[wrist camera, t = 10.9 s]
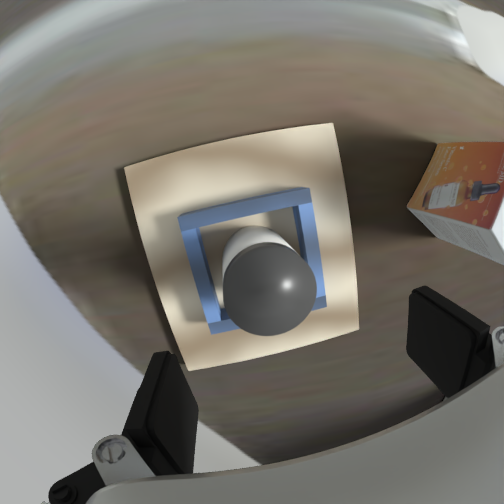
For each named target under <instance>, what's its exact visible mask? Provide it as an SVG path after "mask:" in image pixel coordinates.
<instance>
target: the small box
mask: <svg viewBox="0 0 504 504" xmlns="http://www.w3.org/2000/svg"><path fill="white" fill-rule="evenodd" d="M407 208H408V209H409V210H410V211H411V212H412V213H413V214H414V215H415V216H416V217H417V218H418V219H419V220H420V221H421V222H422V223H423V224H424V225H425V226H426V227H427V228H428V229H429V230H430V231H431V232H432V233H433V234H434V235H435V236H436V237H437V238H439V239H442V240H444V241H447V242H449V243H452V244H454V245H457V246H460V247H462V248H464V249H467V250H469V251H472V252H474V253H477V254H479V255H481V256H484V257H486V258H488V259H491V260H493V261H495V262H498V263H500V264H502V265H504V142H448V143H438V145H437V147H436V149H435V152H434V154H433V157H432V159H431V161H430V163H429V165H428V167H427V169H426V171H425V173H424V175H423V177H422V179H421V181H420V183H419V185H418V187H417V188H416V190H415V192H414V194H413V196H412V198H411V199H410V201H409V203H408V204H407Z"/></svg>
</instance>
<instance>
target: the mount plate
mask: <svg viewBox="0 0 504 504" xmlns="http://www.w3.org/2000/svg"><path fill="white" fill-rule="evenodd" d="M124 169H125V174H126V179H127V183H128V187H129V192H130V196H131V200H132V204H133V208H134V212H135V216H136V220H137V224H138V227H139V231H140V235H141V238H142V242H143V245H144V249H145V252H146V255H147V259H148V262H149V265H150V268H151V271H152V275H153V278H154V281H155V284H156V287H157V290H158V293H159V296H160V299H161V301H162V304H163V307H164V310H165V313H166V315H167V318H168V321H169V323H170V326H171V329H172V331H173V334H174V337H175V339H176V342H177V344H178V347H179V349H180V352H181V354H182V356H183V359H184V361H185V364H186V366H187V368H188V371H190V370H197V369H203V368H208V367H214V366H219V365H225V364H230V363H235V362H240V361H244V360H249V359H253V358H258V357H262V356H267V355H271V354H275V353H279V352H283V351H287V350H291V349H295V348H298V347H302V346H306V345H309V344H313V343H316V342H320V341H323V340H327V339H330V338H333V337H336V336H340V335H343V334H346V333H349V332H352V331H355V330H358V329H359V316H358V297H357V282H356V269H355V258H354V248H353V239H352V230H351V222H350V215H349V208H348V201H347V194H346V188H345V182H344V176H343V170H342V165H341V160H340V154H339V149H338V144H337V140H336V135H335V130H334V126H333V123H327V124H318V125H310V126H302V127H294V128H287V129H281V130H275V131H268V132H263V133H257V134H252V135H246V136H241V137H236V138H231V139H227V140H222V141H218V142H213V143H209V144H205V145H200V146H196V147H192V148H188V149H185V150H181V151H177V152H173V153H170V154H166V155H163V156H159V157H156V158H153V159H149V160H146V161H143V162H140V163H136V164H133V165H130V166H127V167H124ZM248 226H264V227H268V228H270V229H272V230H274V231H275V232H277V233H278V234H279V235H280V236H281V237H282V238H283V239H284V240H285V241H286V242H287V243H288V244H289V245H290V246H291V247H292V248H293V249H294V250H295V251H296V252H297V253H298V254H299V255H300V256H301V257H302V258H303V259H304V260H305V262H306V263H307V264H308V265H309V266H310V268H311V269H312V271H313V273H314V276H315V279H316V283H317V295H316V300H315V303H314V306H313V308H312V310H311V312H310V313H309V315H308V316H307V317H306V318H305V320H304V321H303V322H302V323H300V324H299V325H298V326H297V327H295V328H294V329H292V330H290V331H288V332H286V333H283V334H279V335H275V336H259V335H254V334H251V333H248V332H246V331H244V330H242V329H241V328H239V327H238V326H237V325H236V324H235V323H234V322H233V321H232V320H231V319H230V317H229V316H228V314H227V312H226V309H225V307H224V302H223V271H222V256H223V250H224V247H225V245H226V243H227V241H228V240H229V238H230V237H231V236H232V235H233V234H234V233H236V232H237V231H239V230H240V229H242V228H245V227H248Z"/></svg>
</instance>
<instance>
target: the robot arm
mask: <svg viewBox="0 0 504 504" xmlns="http://www.w3.org/2000/svg"><path fill="white" fill-rule="evenodd" d="M489 330H490V326H489V325H487V324H486V323H484V322H483V321H481V320H480V319H478V318H477V317H475V316H474V315H472V314H471V313H469V312H468V311H466V310H465V309H463V308H461V307H460V306H458V305H457V304H455V303H453V302H452V301H450V300H449V299H447V298H445V297H444V296H442V295H441V294H439V293H437V292H436V291H434V290H432V289H431V288H429V287H427V286H422V287H419V288H416V289H414V290H413V291H412V294H410V296H409V315H408V333H407V346H406V350H407V354H408V355H409V357H410V358H411V359H412V360H413V361H414V362H415V363H416V364H417V365H418V366H419V367H420V368H421V370H422V371H423V372H424V373H425V374H426V375H427V376H428V377H429V378H430V379H431V380H432V382H433V383H434V384H435V385H436V386H437V387H438V388H439V389H440V390H441V391H442V393H443V394H444V395H445V396H446V397H445V398H444V400H443V402H441V403H439V404H437V405H435V406H434V407H432V408H430V409H428V410H426V411H424V412H422V413H420V414H418V415H416V416H414V417H412V418H410V419H408V420H405V421H403V422H401V423H399V424H397V425H394V426H392V427H390V428H387V429H385V430H383V431H380V432H378V433H375V434H373V435H370V436H367V437H365V438H362V439H359V440H357V441H354V442H351V443H348V444H345V445H342V446H339V447H336V448H332V449H329V450H326V451H322V452H319V453H315V454H311V455H308V456H304V457H300V458H295V459H291V460H287V461H282V462H277V463H272V464H267V465H261V466H255V467H249V468H242V469H234V470H226V471H218V472H208V473H193V466H194V454H195V443H196V432H197V422H198V411H199V410H198V405H197V402H196V400H195V398H194V396H193V394H192V392H191V389H190V387H189V385H188V383H187V381H186V378H185V376H184V374H183V371H182V369H181V367H180V364H179V362H178V360H177V357H176V355H175V354H171V353H170V352H169V351H163V352H156V353H154V354H153V356H152V358H151V361H150V363H149V366H148V368H147V371H146V373H145V376H144V378H143V381H142V384H141V386H140V388H139V389H138V391H137V394H136V396H135V399H134V401H133V404H132V407H131V410H130V412H129V415H128V418H127V420H126V423H125V426H124V429H123V432H122V435H110V436H107V437H104V438H103V439H101V440H100V441H98V443H97V444H96V445H95V446H94V448H93V450H92V458H93V461H94V462H92V463H90V464H89V465H87V466H85V467H84V468H81V469H80V470H78V471H76V472H74V473H72V474H71V475H69V476H67V477H65V478H63V479H61V480H59V481H57V482H56V483H55V484H53V486H52V487H51V488H50V491H49V502H48V503H46V502H45V501H44V502H42V503H41V504H504V326H501V327H498V328H496V329H495V330H494V331H493V333H492V335H491V334H489Z"/></svg>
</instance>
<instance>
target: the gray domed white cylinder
mask: <svg viewBox="0 0 504 504" xmlns="http://www.w3.org/2000/svg"><path fill="white" fill-rule="evenodd" d="M222 271H223V302H224V307H225V309H226V312H227V314H228V316H229V317H230V319H231V320H232V321H233V322H234V323H235V324H236V325H237V326H238V327H239V328H241V329H242V330H244V331H246V332H248V333H251V334H254V335H259V336H275V335H279V334H283V333H286V332H288V331H290V330H292V329H294V328H295V327H297V326H298V325H299V324H300V323H302V322H303V321H304V320H305V318H306V317H307V316H308V315H309V313H310V312H311V310H312V308H313V306H314V303H315V300H316V295H317V283H316V279H315V276H314V273H313V271H312V269H311V268H310V266H309V265H308V264H307V263H306V262H305V260H304V259H303V258H302V257H301V256H300V255H299V254H298V253H297V252H296V251H295V250H294V249H293V248H292V247H291V246H290V245H289V244H288V243H287V242H286V241H285V240H284V239H283V238H282V237H281V236H280V235H279V234H278V233H277V232H275V231H274V230H272V229H270V228H268V227H264V226H248V227H245V228H242V229H240V230H239V231H237V232H236V233H234V234H233V235H232V236H231V237H230V238H229V240H228V241H227V243H226V245H225V247H224V250H223V256H222Z"/></svg>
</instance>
